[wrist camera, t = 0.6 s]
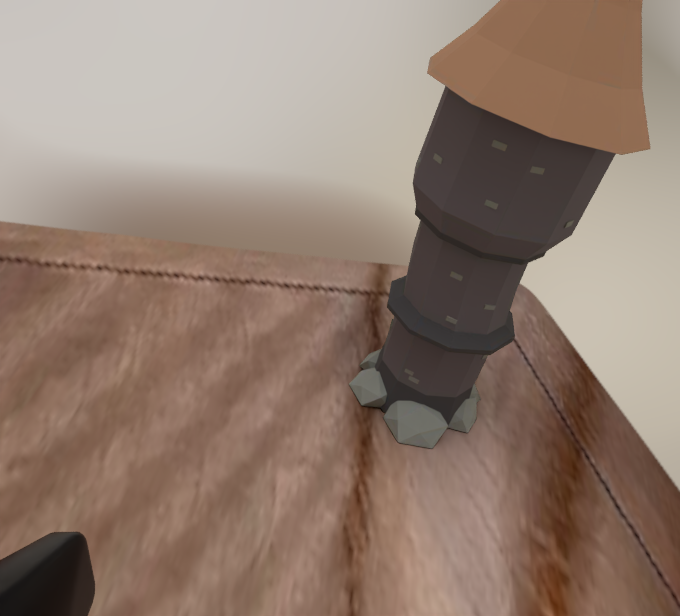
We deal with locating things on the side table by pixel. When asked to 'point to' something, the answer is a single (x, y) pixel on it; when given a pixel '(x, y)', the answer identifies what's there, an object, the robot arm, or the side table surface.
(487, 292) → the model tower
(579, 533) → the side table surface
